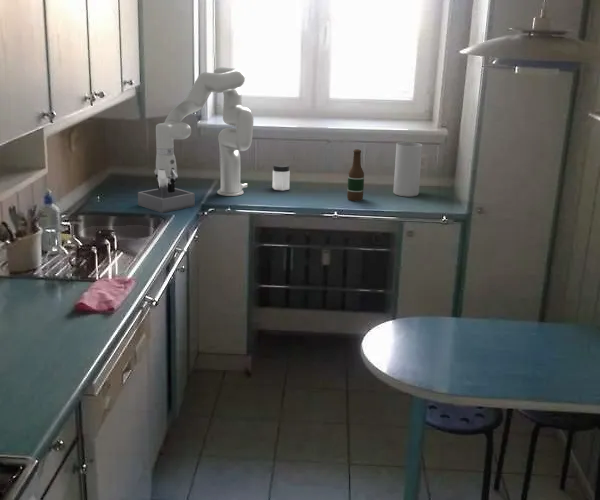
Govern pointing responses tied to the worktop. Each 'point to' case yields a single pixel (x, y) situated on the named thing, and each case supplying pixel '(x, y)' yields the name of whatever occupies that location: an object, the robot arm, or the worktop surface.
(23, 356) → the worktop surface
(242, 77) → the robot arm
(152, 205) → the bin
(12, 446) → the worktop surface
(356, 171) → the beer bottle
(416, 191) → the cylinder vase
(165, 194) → the beer glass
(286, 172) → the jar
